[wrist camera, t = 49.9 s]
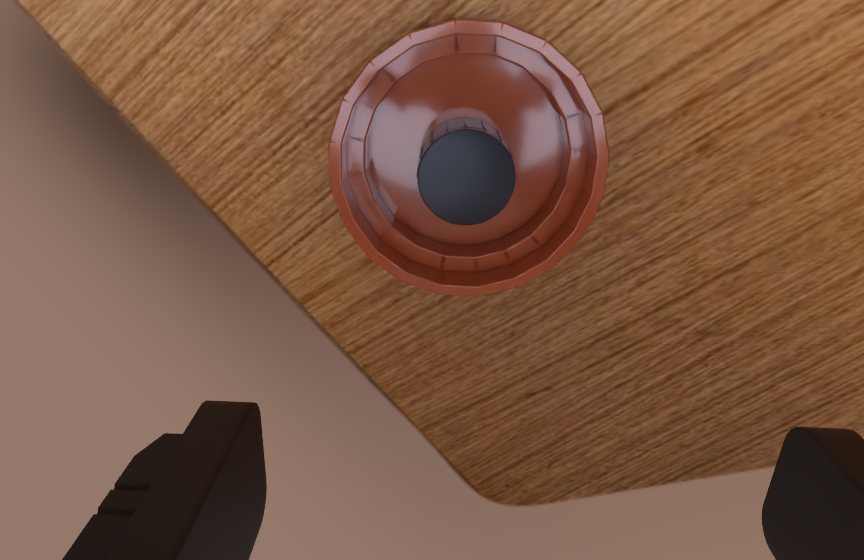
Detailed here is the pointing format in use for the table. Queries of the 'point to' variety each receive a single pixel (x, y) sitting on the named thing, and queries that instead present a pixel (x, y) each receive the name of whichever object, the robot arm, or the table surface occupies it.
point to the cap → (465, 171)
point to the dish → (499, 107)
